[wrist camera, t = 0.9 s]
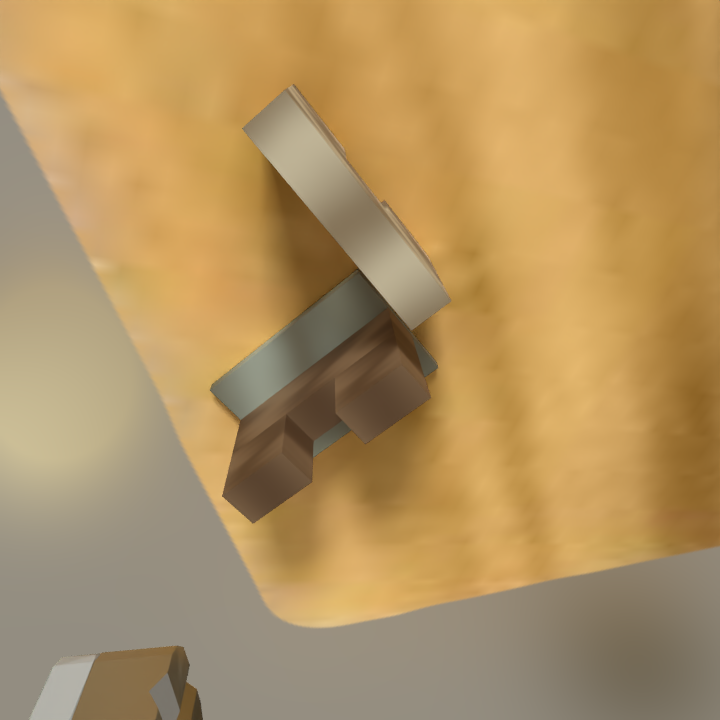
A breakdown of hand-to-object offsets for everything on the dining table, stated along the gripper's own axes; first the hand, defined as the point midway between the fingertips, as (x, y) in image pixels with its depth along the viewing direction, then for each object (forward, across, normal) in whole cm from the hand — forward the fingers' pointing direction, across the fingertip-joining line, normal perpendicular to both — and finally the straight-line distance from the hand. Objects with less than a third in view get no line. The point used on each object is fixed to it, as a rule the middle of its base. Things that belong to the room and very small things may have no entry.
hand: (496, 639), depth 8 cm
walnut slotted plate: (+31, +3, +10) cm, 33 cm away
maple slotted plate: (+31, +1, -1) cm, 31 cm away
